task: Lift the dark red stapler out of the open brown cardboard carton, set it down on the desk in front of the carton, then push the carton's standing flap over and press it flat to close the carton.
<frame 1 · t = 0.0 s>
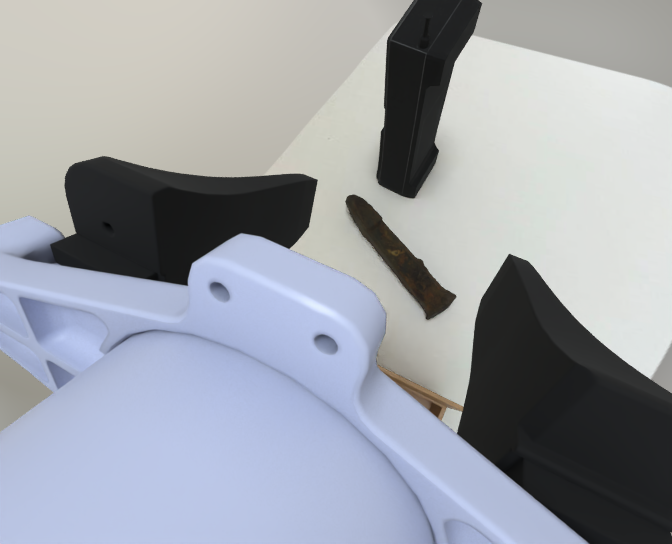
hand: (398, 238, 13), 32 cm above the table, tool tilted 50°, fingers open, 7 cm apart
flap: (364, 362, 33), point 10 cm above the table, hinge at 92.0°
portable radio: (406, 170, 50), on the table
carton: (343, 416, 41), on the table
brown rough bar: (388, 259, 46), on the table
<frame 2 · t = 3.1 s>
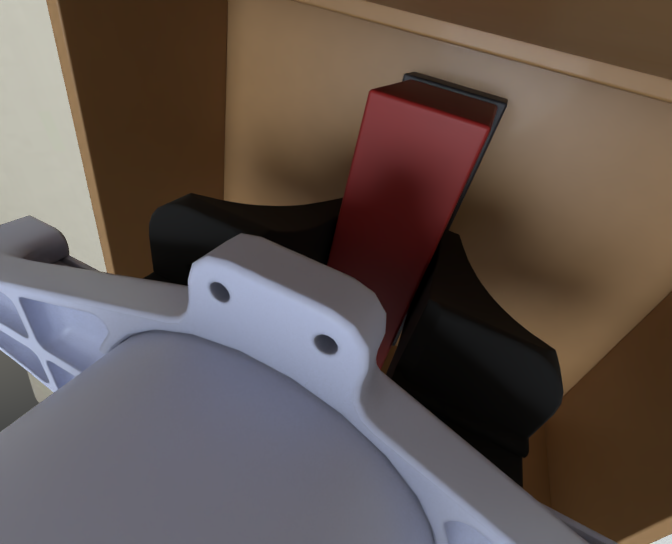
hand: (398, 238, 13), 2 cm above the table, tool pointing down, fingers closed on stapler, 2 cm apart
stapler: (406, 225, 14), resting on carton, touching gripper
carton: (409, 222, 14), on the table
when the fingers open (1 cm above the table, at t = 7.7 s): stapler stays where it is, on the table.
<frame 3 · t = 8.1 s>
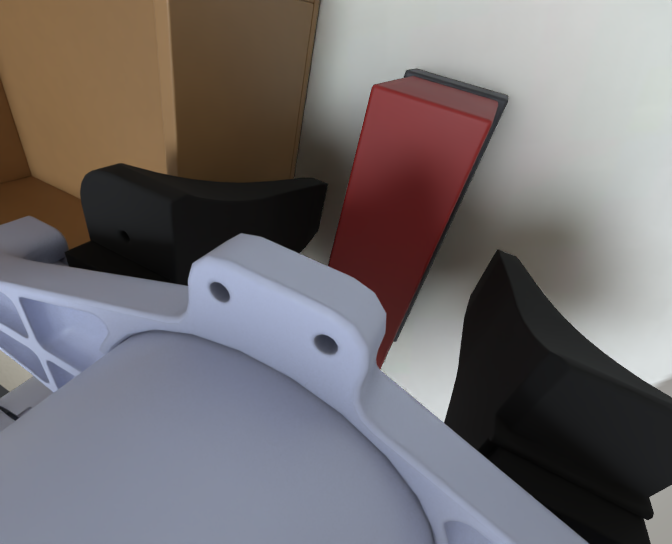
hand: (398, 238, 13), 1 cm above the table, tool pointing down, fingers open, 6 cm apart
stapler: (407, 221, 14), on the table
carton: (131, 115, 17), on the table
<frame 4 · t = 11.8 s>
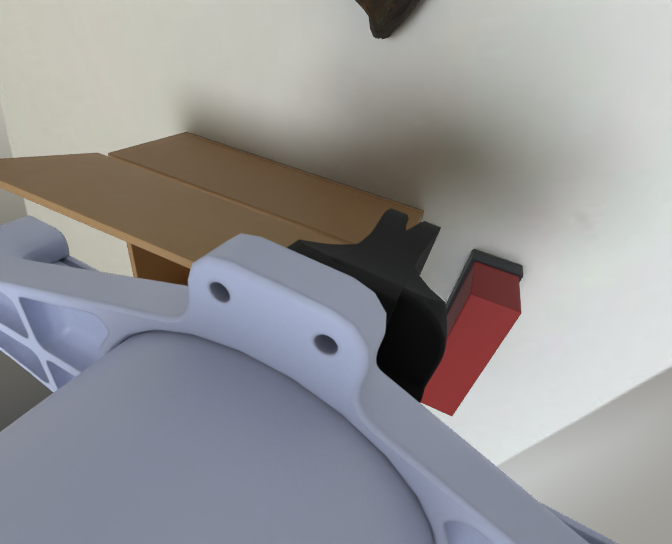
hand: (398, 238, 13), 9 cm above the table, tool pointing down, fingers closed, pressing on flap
stapler: (465, 316, 24), on the table
flap: (189, 219, 15), point 10 cm above the table, hinge at 98.8°, touching gripper
carton: (286, 247, 27), on the table
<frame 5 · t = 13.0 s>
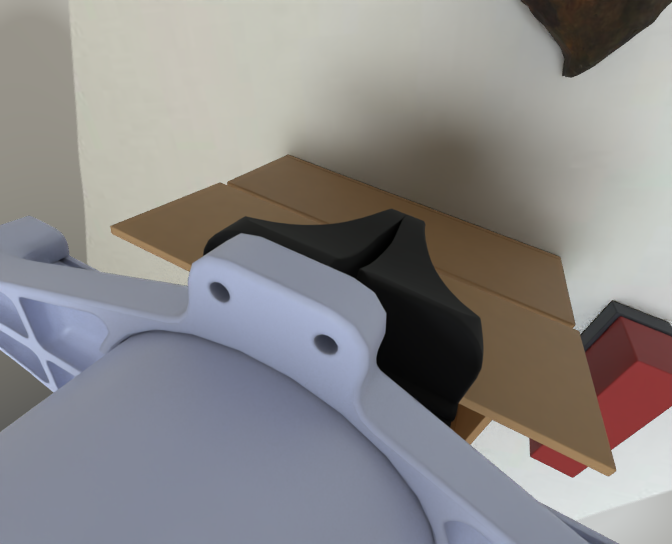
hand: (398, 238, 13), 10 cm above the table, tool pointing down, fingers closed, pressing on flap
stapler: (584, 367, 23), on the table
flap: (354, 284, 14), point 10 cm above the table, hinge at 91.7°, touching gripper
carton: (383, 280, 26), on the table
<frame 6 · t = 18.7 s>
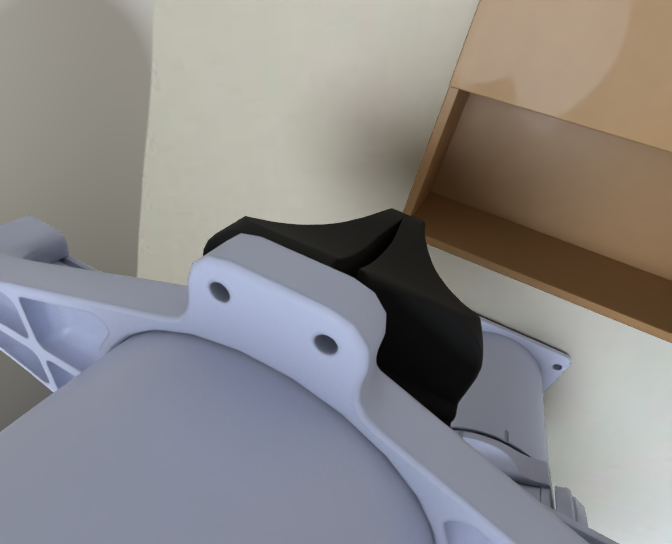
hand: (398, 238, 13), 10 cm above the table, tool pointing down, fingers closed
carton: (652, 134, 16), on the table
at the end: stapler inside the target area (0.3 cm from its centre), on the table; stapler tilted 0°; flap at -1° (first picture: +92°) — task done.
